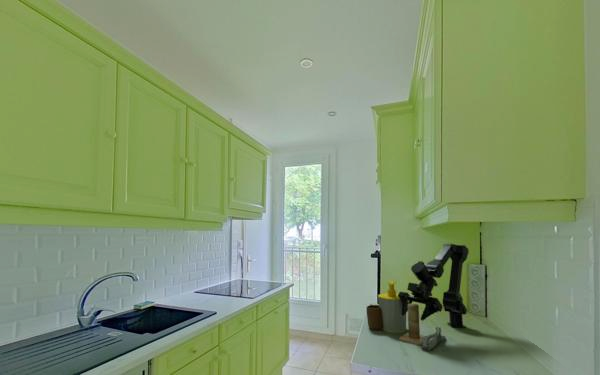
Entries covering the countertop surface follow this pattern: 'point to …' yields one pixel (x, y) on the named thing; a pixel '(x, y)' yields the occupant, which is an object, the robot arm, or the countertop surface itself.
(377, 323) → the mug
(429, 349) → the gray metal frame
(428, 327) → the countertop surface
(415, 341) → the terracotta tile
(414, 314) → the tan wooden cylinder
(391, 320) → the soap bottle
